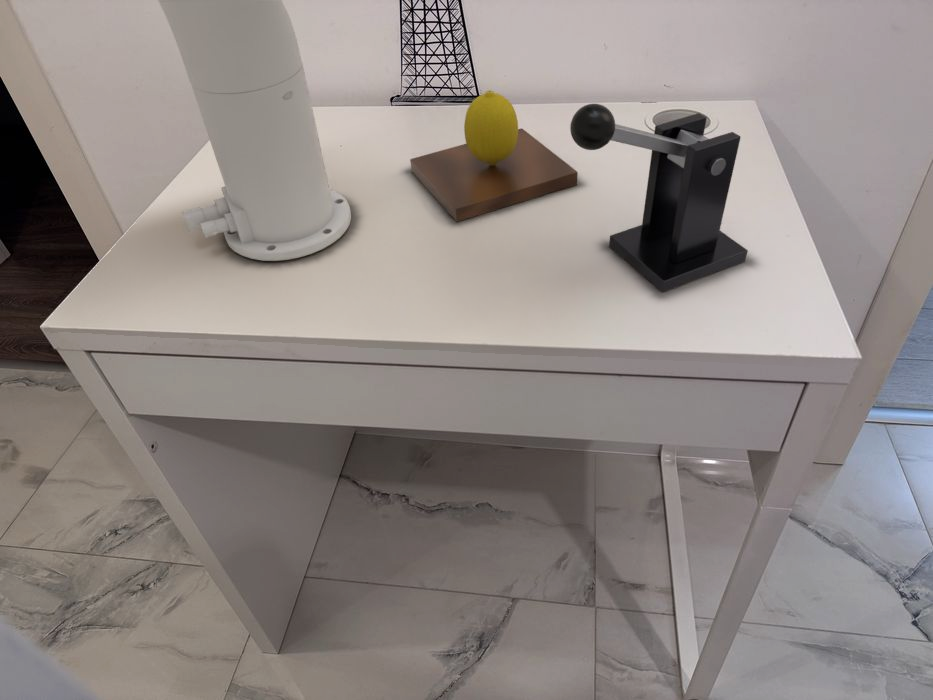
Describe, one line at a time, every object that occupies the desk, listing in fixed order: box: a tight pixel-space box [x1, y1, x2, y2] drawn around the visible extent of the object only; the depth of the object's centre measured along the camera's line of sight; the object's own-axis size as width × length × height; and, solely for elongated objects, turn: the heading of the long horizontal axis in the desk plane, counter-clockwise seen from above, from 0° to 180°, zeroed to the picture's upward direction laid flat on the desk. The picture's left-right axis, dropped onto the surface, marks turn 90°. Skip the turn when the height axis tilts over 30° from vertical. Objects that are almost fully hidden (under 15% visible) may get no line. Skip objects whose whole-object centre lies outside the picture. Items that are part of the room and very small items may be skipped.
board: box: [409, 128, 578, 223], centre depth 74 cm, size 14×12×2 cm
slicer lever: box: [569, 103, 709, 168], centre depth 53 cm, size 14×3×3 cm, turn 116°
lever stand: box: [608, 112, 749, 293], centre depth 59 cm, size 9×8×12 cm
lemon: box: [463, 90, 519, 166], centre depth 71 cm, size 6×6×8 cm
